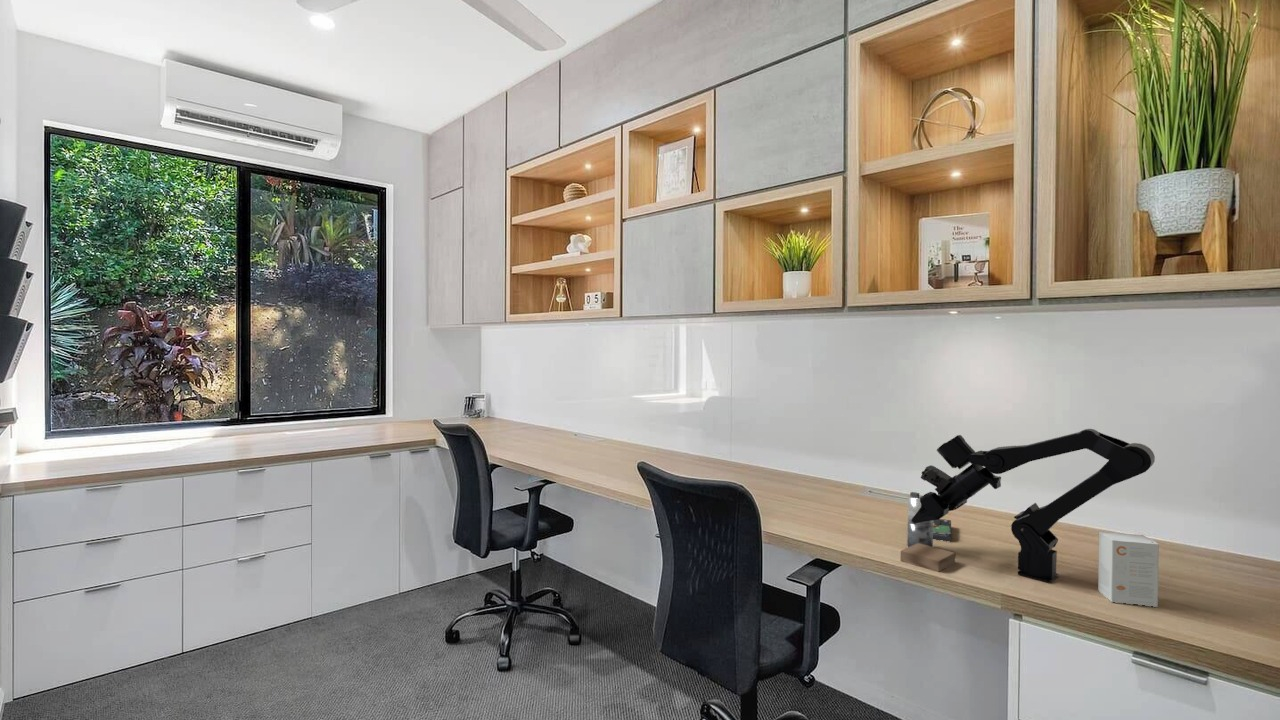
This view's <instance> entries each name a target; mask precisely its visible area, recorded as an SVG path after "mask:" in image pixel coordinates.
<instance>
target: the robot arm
mask: <svg viewBox="0 0 1280 720" xmlns="http://www.w3.org/2000/svg"><path fill="white" fill-rule="evenodd" d="M1085 449H1087V450H1089V451H1091V452H1093V453H1095V454H1096V455H1098V456H1100V457H1102V458H1104V459H1105V460H1107V462H1106V463H1105V464H1104V465H1103V466H1102V467H1101V468H1100V469H1099V470H1097V471H1096V472H1095V473H1093V474H1092V475H1090V476H1089V477H1088V478H1086V479H1084V480H1083V481H1081V482H1080V483H1078V484H1077V485H1075V486H1074V487H1072V488H1071V489H1070V490H1068V491H1066V492H1065V493H1063V494H1062V495H1061V496H1059V497H1057V498H1056V499H1054V500H1053V501H1051V502H1050V503H1048V504H1045V505H1044V506H1041V507H1040V506H1039V505H1038V504H1037V503H1036V502H1034V503H1033V504H1031V505H1030V506H1029V507H1027V508H1026V509H1025V510H1022V511H1020V512H1019V513H1017V514H1016V515H1014V517H1013V518H1014V519H1015V520H1013V521H1012V523H1011V526H1010V527H1011V529H1010V530H1011V533H1012V535H1013V537H1014V539H1017V540H1018V543H1019V545H1020V551H1018V553H1017V558H1018V559H1017V569H1018V571H1017V575H1019V576H1023V577H1026V578H1029V579H1034V580H1038V581H1042V582H1045V583H1049V584H1050V583H1052V582H1053V581H1054V580H1056V579H1057V578H1058V577H1060V576H1059V573H1057V558H1058V556H1057V554H1058V551H1057V550H1055V549H1054V548H1055V547H1056V545H1057V544H1058V541H1059V539H1058V537H1057V536H1056V535H1055V534H1054V533H1053V532H1052V531H1050V529H1052V527H1053V526H1054V525H1055V524H1057V522H1059V520H1061V519H1062V518H1063V517H1065V516H1067V515H1068V514H1070V513H1072V512H1073V511H1075V510H1076V509H1078V508H1079V507H1081V506H1083V505H1084V504H1085V503H1087V502H1088V501H1090V500H1092V499H1093V498H1094V497H1097V496H1098V495H1100V494H1101V493H1103V492H1104V491H1105V490H1107V489H1109V488H1110V487H1112V486H1113V485H1116V484H1119V483H1122V482H1125V481H1127V480H1129V479H1132V478H1135V477H1137V476H1139V475H1142V474H1144V473H1146V472H1147V471H1148V470H1149V469H1150V468H1151V467H1152V466H1153V465H1154V463H1155V458H1156V457H1155V453H1154V451H1152V449H1151V448H1150V447H1149V446H1147V445H1146V444H1142V443H1137V442H1132V443H1129V442H1127V441H1124V440H1122V439H1119V438H1117V437H1113V436H1110V435H1107V434H1105V433H1102V432H1099V431H1098V430H1096V429H1094V428H1093V429H1092V428H1086V429H1083V430H1081V431H1078V432H1077V431H1076V432H1074V433H1071V434H1070V433H1069V434H1065V435H1062V436H1059V437H1057V436H1056V437H1054V438H1050V439H1045V440H1042V441H1038V442H1034V443H1030V444H1023V445H1022V444H1021V445H1008V446H998V447H994V448H992V449H990V450H978V451H976V450H974V448H973V447H971V445H970V444H969V443H968V442H967V441H966V439H965V438H964V437H963V436H962V435H961V434H958V435H955V436H954V437H953V438H951V439H950V440H948V441H946V442H944V443H942V444H940V446H938V447H937V449H936V451H937V453H938V454H939V455H940V456H941V457H942V458H943V459H944V460H945V462H946V463H947V464H948V465H949V466H950V467H951V468H952V469H958V470H961V469H963V468H964V467H966V466H967V465H968V466H967V467H966V468H965V469H963V470H962V471H961V472H959V473H958V474H955V475H953V476H950V475H949V474H947V472H944V471H943V470H942V469H939V468H938V467H936V466H934V465H928V466H926V467H925V468H924V470H922V471H921V476H920V479H921V480H923V481H926V482H928V483H929V484H930V485H932V486H934V487H936V488H934V490H935V492H933V491H929V492H927V493H925V494H923V495H922V497H921V498H920V502H921V508H920V509H919V510H918V512H917V513H916V514H915V516H914V517H913V518H912V519H911V521H912V522H913V523H914V524H915V523H920V522H926V521H932V520H938V519H943V518H944V517H945V516H946V515H948V514H949V512H951V511H956V510H957V509H959V508H962V507H963V506H964V505H966V504H967V503H968V500H969V499H970V498H972V497H973V496H975V495H976V494H977V493H979V492H980V491H982V490H983V489H985V487H987V486H988V485H990V486H991V487H992V488H993V489H994V490H998V489H999V488H1001V487H1002V483H1001V480H1002V476H997V475H1001V474H1004V473H1007V472H1009V471H1011V470H1013V469H1016V468H1018V467H1021V466H1023V465H1025V464H1027V463H1029V462H1032V461H1033V462H1034V461H1038V460H1043V459H1047V458H1051V457H1055V456H1059V455H1064V454H1067V453H1072V452H1077V451H1080V450H1085ZM969 464H970V465H969ZM995 474H996V475H995ZM936 492H937V493H936Z"/></svg>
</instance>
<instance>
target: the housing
mask: <svg viewBox="0 0 1280 720" xmlns="http://www.w3.org/2000/svg"><path fill="white" fill-rule="evenodd" d="M922 496H923V495H921V494H920V493H919V492H916V491H912V492H911V491H910V495H908V496H907V534H906V535H907V539H906V542H907V543H906V545H907V546H908V547H910V546H912V545H915V544H917V543H919V544H923V545H927V546H931V547H934V540H933V520H932V521H926V522H920V523H915V524H914V523H913V522H912V521H911V519H912V518H913V517H914V516H915V514H916V513H917V512H918V510H919V509H920V508H921V502H920V498H921V497H922ZM907 546H906V547H907ZM908 547H907V548H908Z"/></svg>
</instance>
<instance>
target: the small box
mask: <svg viewBox="0 0 1280 720" xmlns="http://www.w3.org/2000/svg"><path fill="white" fill-rule="evenodd" d="M1098 539H1099V540H1098V584H1097V585H1098V586H1097V587H1098V592H1099V593H1100V594H1101V595H1102V594H1103V595H1102V596H1103V597H1105V598H1106V599H1107V598H1108V599H1109V600H1110V601H1109V602H1111V603H1113V602H1115V604H1116V603H1117V604H1123V603H1126V604H1125V605H1133V604H1138V605H1137V606H1142V605H1145V606H1144V607H1151V606H1153V608H1158V606H1159V605H1158V604H1159V570H1160V569H1159V568H1160V567H1159V566H1160V565H1159V562H1160V560H1159V558H1160V554H1159V553H1160V543H1158V542H1156V541H1155V540H1153V539H1151V538H1149V536H1148V537H1147V536H1146V535H1144V534H1134V533H1123V532H1121V533H1120V532H1111V531H1110V532H1109V531H1099V533H1098ZM1108 599H1107V600H1108Z"/></svg>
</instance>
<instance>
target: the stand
mask: <svg viewBox="0 0 1280 720" xmlns="http://www.w3.org/2000/svg"><path fill="white" fill-rule="evenodd" d="M900 562H903V563H906V564H910V565H914V566H916V567H917V566H918V567H920V568H924V569H928V570H931V571H933V572H937V573H939V572H941V571H943V570H944V568H945V569H946V567H947V568H948V567H950V566H952V565H954V564H955V563H956V552H953V551H950V550H946V549H942V548H937V547H935V546H933V547H931V546H927V545H923V544H919V543H917V544H915V545H912V546H910V547H905V548H904V549H901V550H900ZM953 563H954V564H953ZM951 564H952V565H951ZM949 565H950V566H949ZM942 569H943V570H942Z"/></svg>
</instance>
